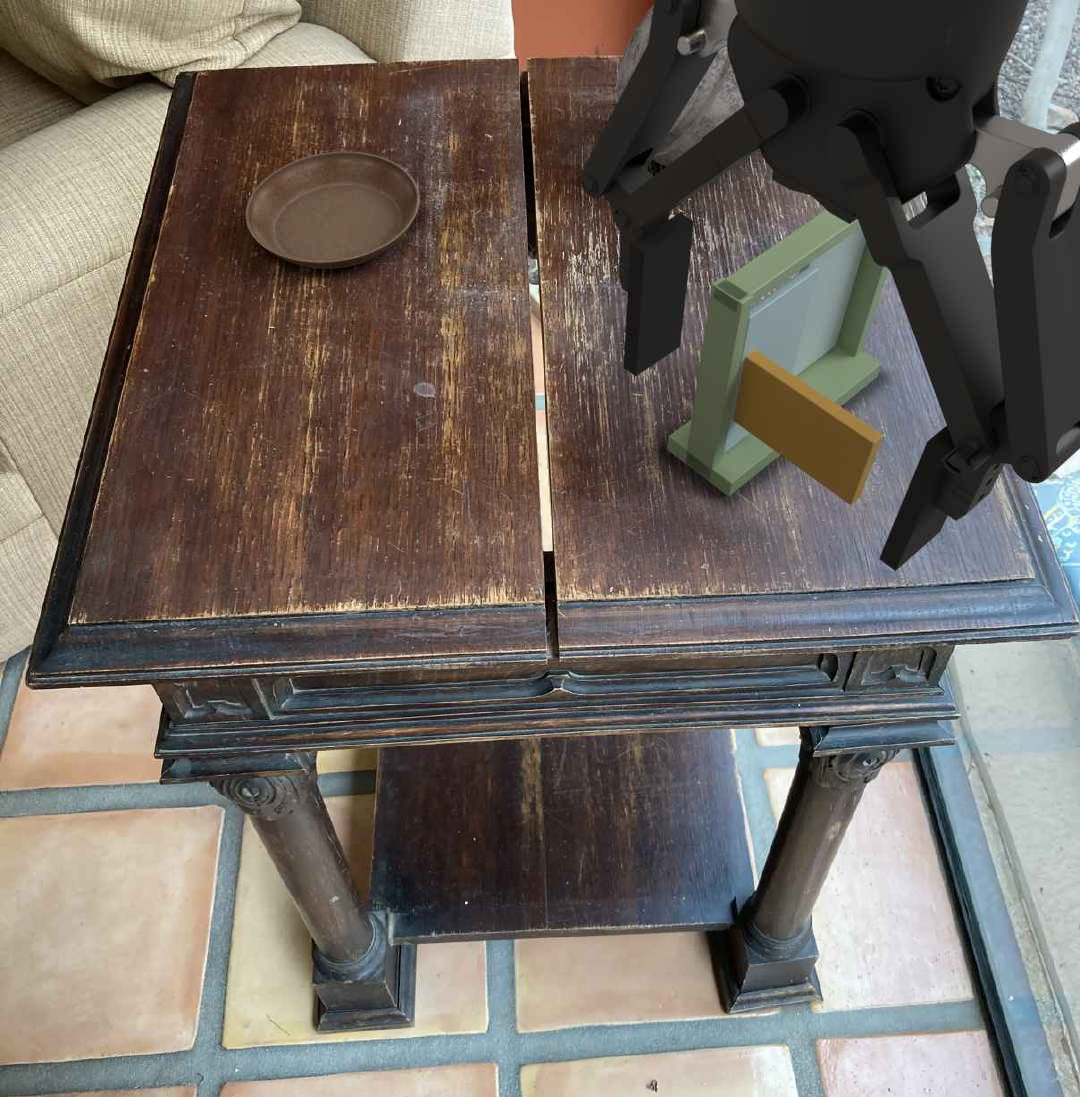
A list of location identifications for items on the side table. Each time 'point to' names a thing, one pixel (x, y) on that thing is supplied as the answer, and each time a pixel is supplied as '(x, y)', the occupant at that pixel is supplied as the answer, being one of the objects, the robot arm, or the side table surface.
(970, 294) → the robot arm
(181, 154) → the side table surface
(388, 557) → the side table surface
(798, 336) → the window pane
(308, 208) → the saucer
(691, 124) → the decorative orb
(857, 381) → the window frame
